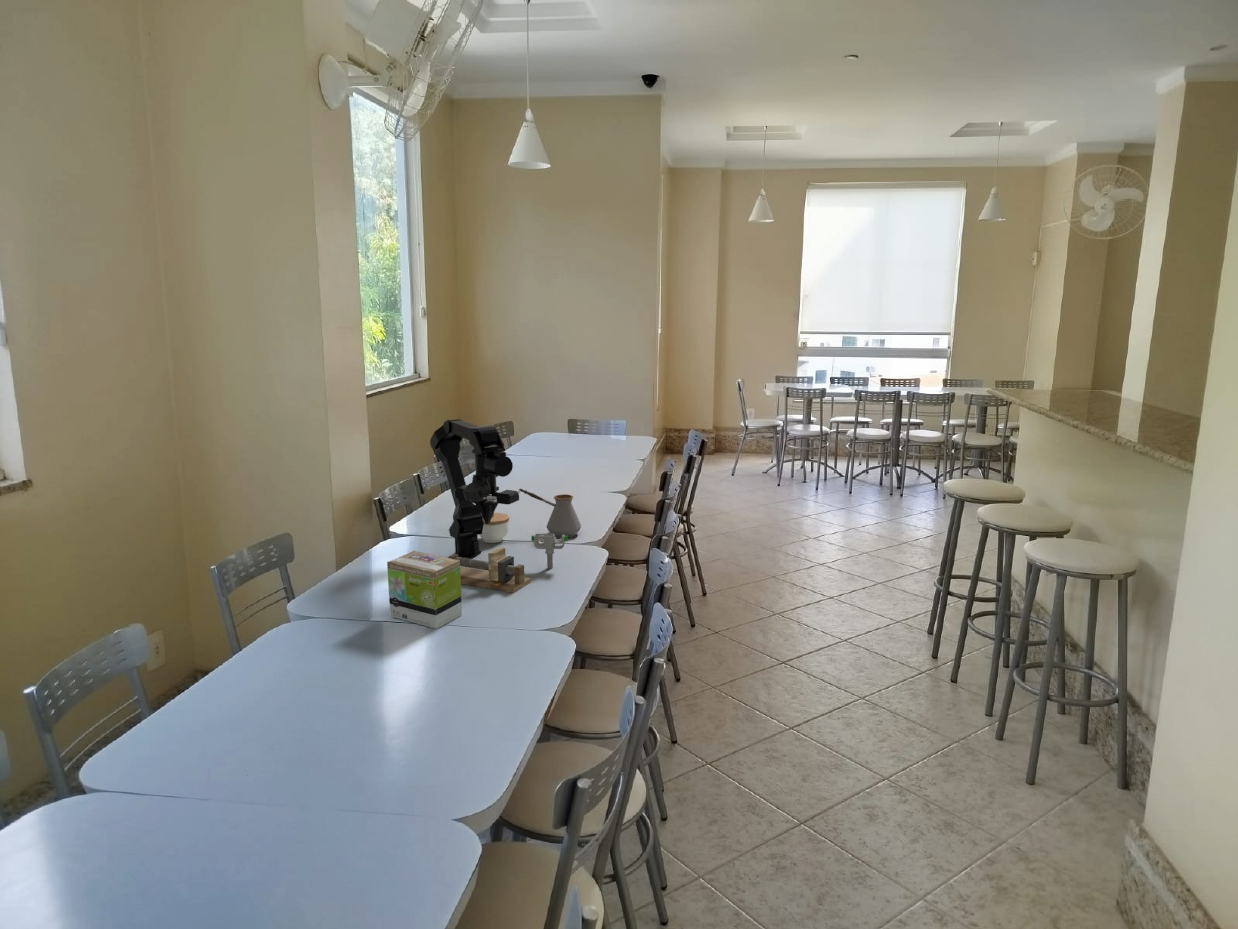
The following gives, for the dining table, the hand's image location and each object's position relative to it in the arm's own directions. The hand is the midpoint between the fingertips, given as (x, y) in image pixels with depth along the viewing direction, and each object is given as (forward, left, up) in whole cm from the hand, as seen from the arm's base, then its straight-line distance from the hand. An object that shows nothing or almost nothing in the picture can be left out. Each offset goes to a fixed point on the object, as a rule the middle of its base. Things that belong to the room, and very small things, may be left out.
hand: (487, 523), depth 229 cm
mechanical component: (+17, +6, -13) cm, 22 cm away
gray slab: (+13, -11, -11) cm, 20 cm away
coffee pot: (0, +36, -13) cm, 38 cm away
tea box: (+7, -38, -13) cm, 41 cm away
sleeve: (+11, -11, -11) cm, 19 cm away
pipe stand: (+7, -11, -13) cm, 18 cm away
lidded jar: (-13, +22, -13) cm, 29 cm away
